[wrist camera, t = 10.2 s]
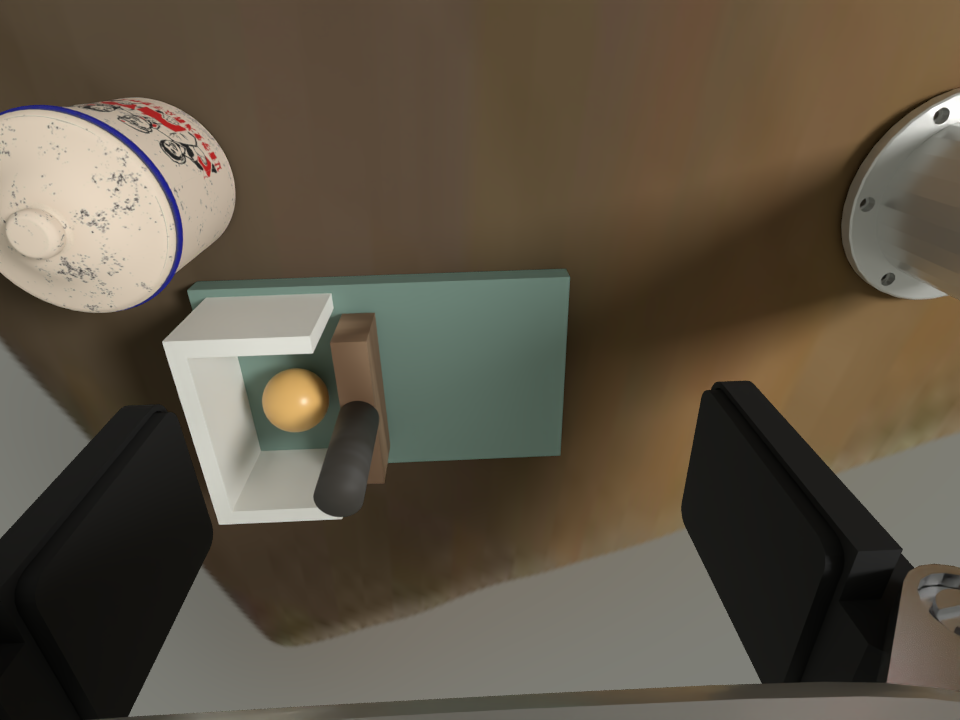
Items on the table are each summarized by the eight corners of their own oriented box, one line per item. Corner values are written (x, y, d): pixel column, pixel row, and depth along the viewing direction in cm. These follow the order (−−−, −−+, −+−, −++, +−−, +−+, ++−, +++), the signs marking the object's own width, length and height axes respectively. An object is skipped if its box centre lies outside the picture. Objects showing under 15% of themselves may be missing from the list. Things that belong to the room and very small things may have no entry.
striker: (378, 312, 36) (350, 410, 26) (393, 445, 40) (374, 570, 31) (338, 314, 35) (295, 413, 26) (358, 446, 40) (328, 572, 30)
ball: (241, 381, 34) (286, 352, 38) (255, 436, 36) (297, 404, 40) (295, 394, 33) (337, 363, 36) (306, 451, 35) (345, 417, 38)
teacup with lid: (260, 138, 32) (170, 179, 22) (220, 279, 36) (128, 371, 26) (26, 32, 29) (-202, 23, 19) (9, 197, 33) (-189, 263, 23)
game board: (565, 268, 37) (590, 316, 30) (556, 442, 43) (575, 514, 36) (196, 281, 36) (139, 333, 29) (243, 456, 42) (204, 531, 36)
